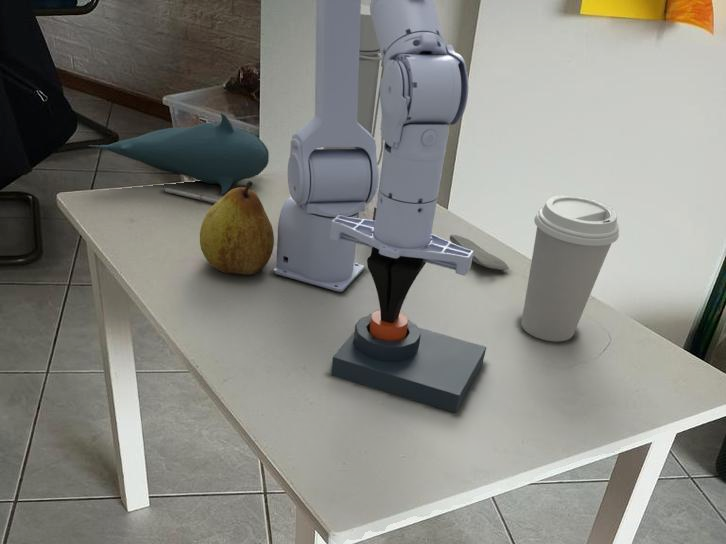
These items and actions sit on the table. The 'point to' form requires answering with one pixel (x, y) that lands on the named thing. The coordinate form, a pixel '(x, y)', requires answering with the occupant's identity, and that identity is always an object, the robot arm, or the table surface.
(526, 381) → the table surface
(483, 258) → the decorative stone
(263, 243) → the fruit
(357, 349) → the grey base slab
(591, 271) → the coffee cup
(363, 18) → the water bottle
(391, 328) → the lid button
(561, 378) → the table surface
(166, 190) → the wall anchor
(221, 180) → the toy
